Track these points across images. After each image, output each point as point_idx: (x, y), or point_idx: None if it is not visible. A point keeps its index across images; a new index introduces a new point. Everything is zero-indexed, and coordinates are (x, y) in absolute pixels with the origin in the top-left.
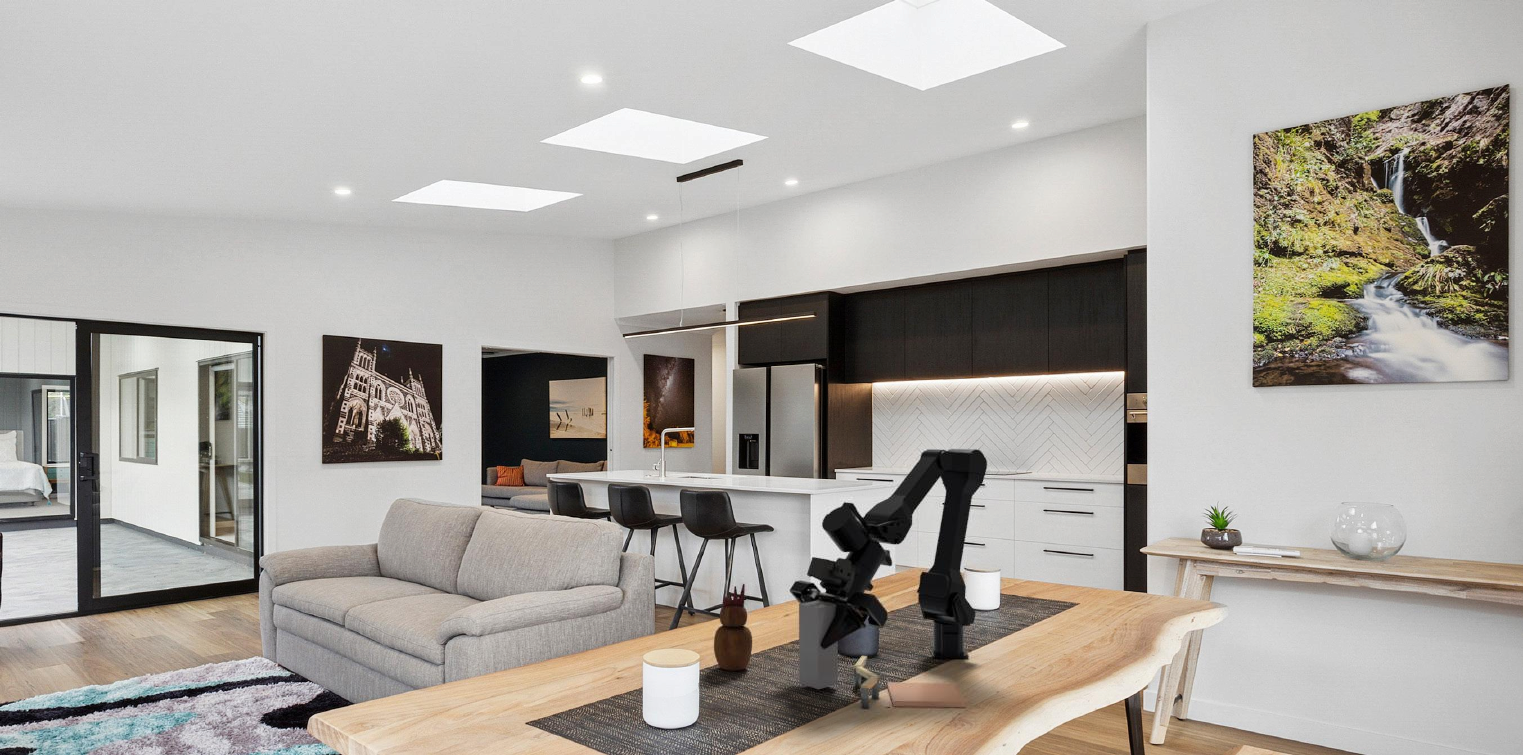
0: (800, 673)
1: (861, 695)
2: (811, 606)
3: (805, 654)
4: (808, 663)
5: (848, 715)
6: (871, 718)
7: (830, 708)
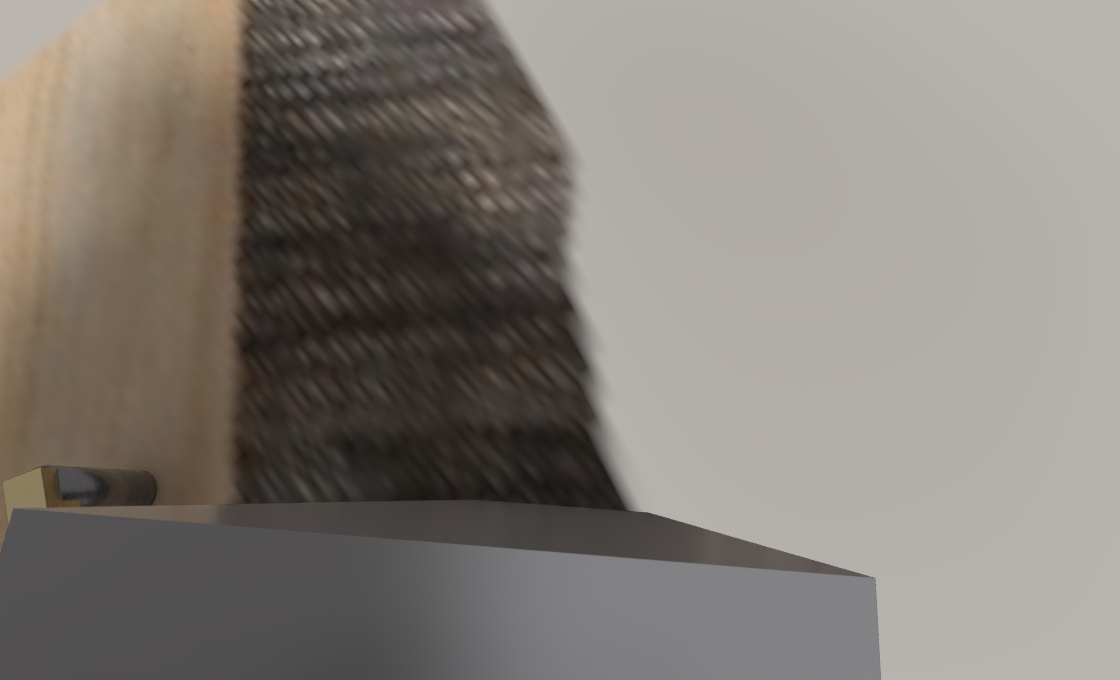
0: (641, 513)
1: (89, 468)
2: (299, 563)
3: (584, 512)
4: (550, 508)
5: (144, 337)
6: (32, 384)
7: (273, 354)
